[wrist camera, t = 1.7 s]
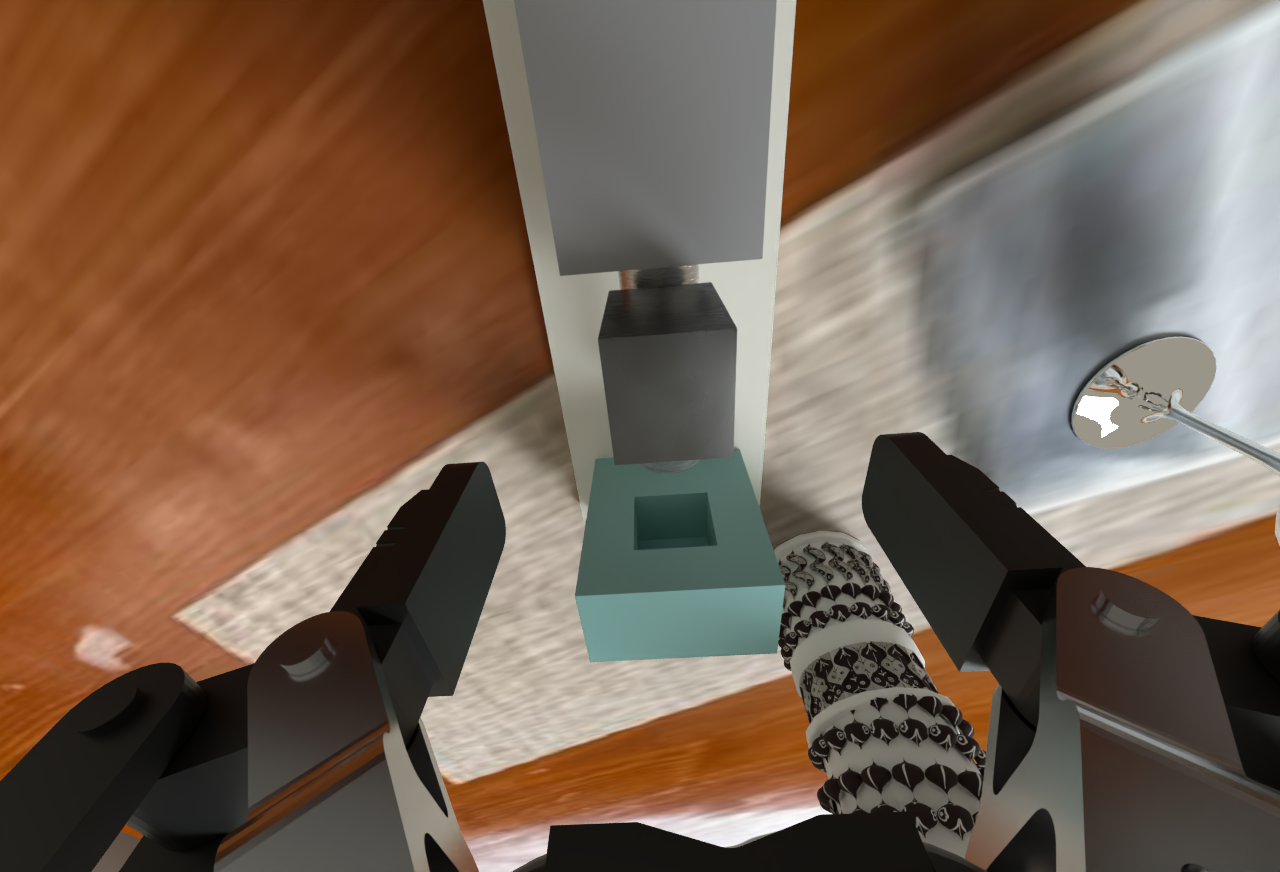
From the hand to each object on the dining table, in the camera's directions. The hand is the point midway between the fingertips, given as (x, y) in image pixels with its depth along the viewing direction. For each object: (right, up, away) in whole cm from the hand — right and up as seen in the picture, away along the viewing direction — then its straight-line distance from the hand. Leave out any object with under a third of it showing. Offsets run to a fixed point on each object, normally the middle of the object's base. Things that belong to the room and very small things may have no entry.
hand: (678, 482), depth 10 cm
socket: (+1, -2, +20) cm, 20 cm away
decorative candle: (+13, -9, +27) cm, 31 cm away
